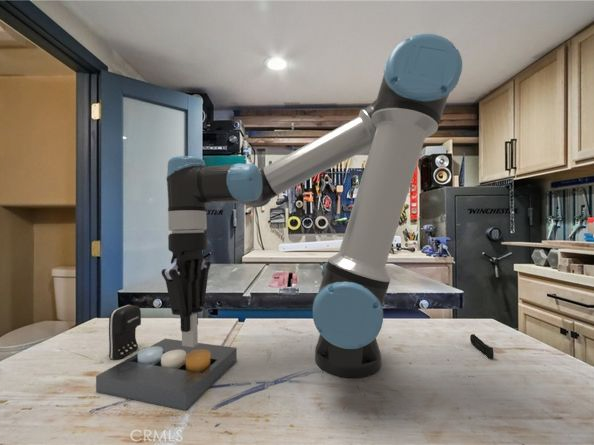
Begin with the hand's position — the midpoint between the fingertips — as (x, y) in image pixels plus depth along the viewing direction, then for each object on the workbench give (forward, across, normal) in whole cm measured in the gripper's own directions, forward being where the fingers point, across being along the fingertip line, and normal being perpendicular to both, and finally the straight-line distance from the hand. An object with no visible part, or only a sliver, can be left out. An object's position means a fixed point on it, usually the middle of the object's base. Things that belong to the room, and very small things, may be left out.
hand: (189, 344), depth 57 cm
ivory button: (+4, 0, -4) cm, 6 cm away
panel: (+7, 0, -4) cm, 8 cm away
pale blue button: (+4, 0, -10) cm, 11 cm away
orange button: (+4, 0, +2) cm, 4 cm away
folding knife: (+9, -30, +63) cm, 70 cm away
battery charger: (+6, -5, -22) cm, 24 cm away
